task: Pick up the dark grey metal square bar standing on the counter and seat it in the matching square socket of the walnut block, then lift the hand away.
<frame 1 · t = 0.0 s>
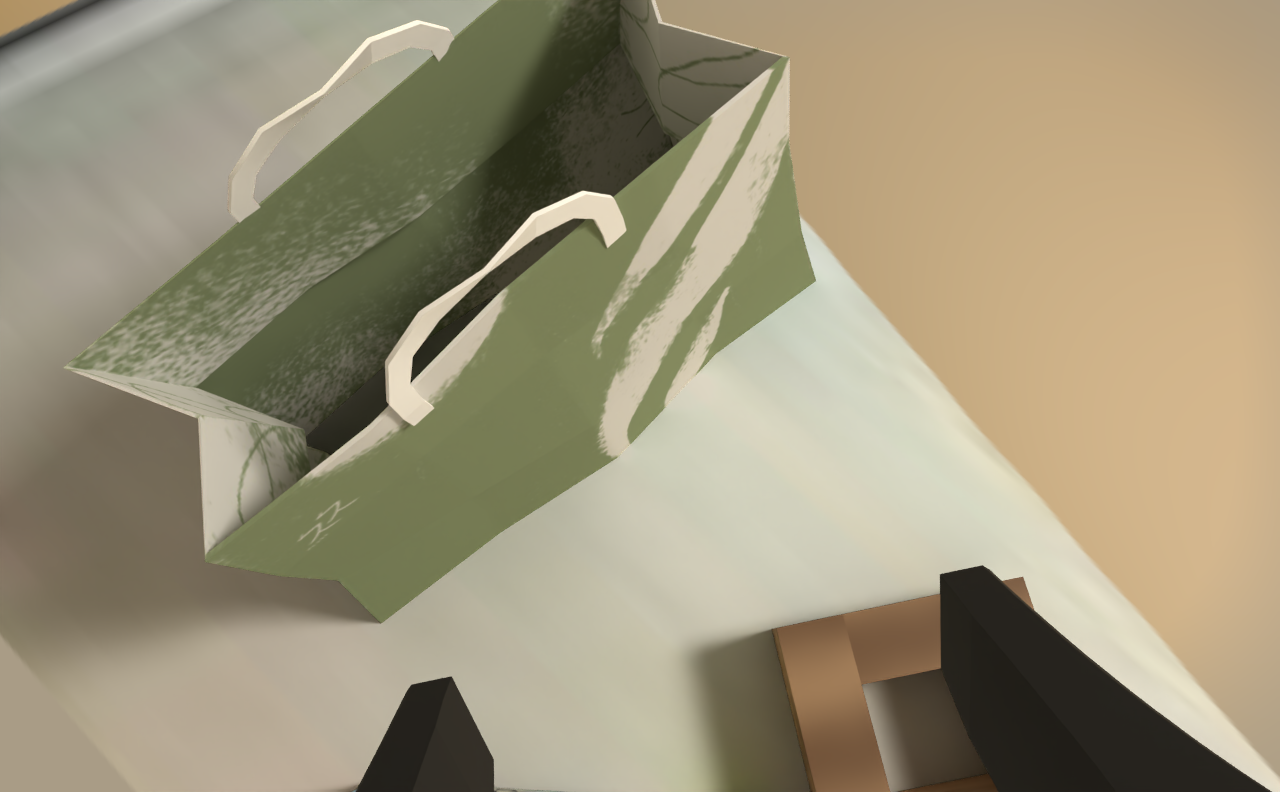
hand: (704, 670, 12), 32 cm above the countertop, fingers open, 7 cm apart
socket block: (917, 725, 40), on the countertop
grocery bag: (545, 373, 48), on the countertop
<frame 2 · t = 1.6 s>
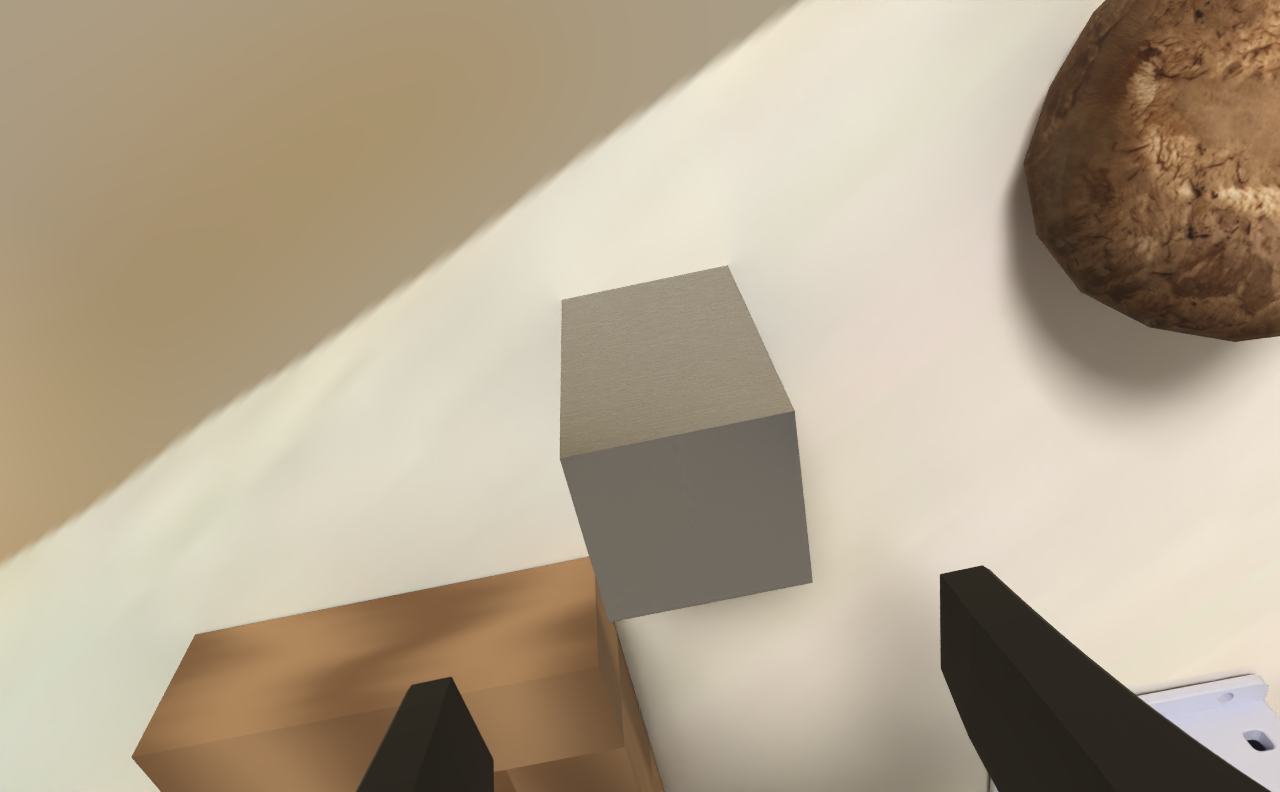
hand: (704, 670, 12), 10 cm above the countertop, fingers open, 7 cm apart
socket block: (456, 723, 26), on the countertop
square bit: (659, 355, 20), on the countertop
mushroom: (1153, 98, 18), on the countertop
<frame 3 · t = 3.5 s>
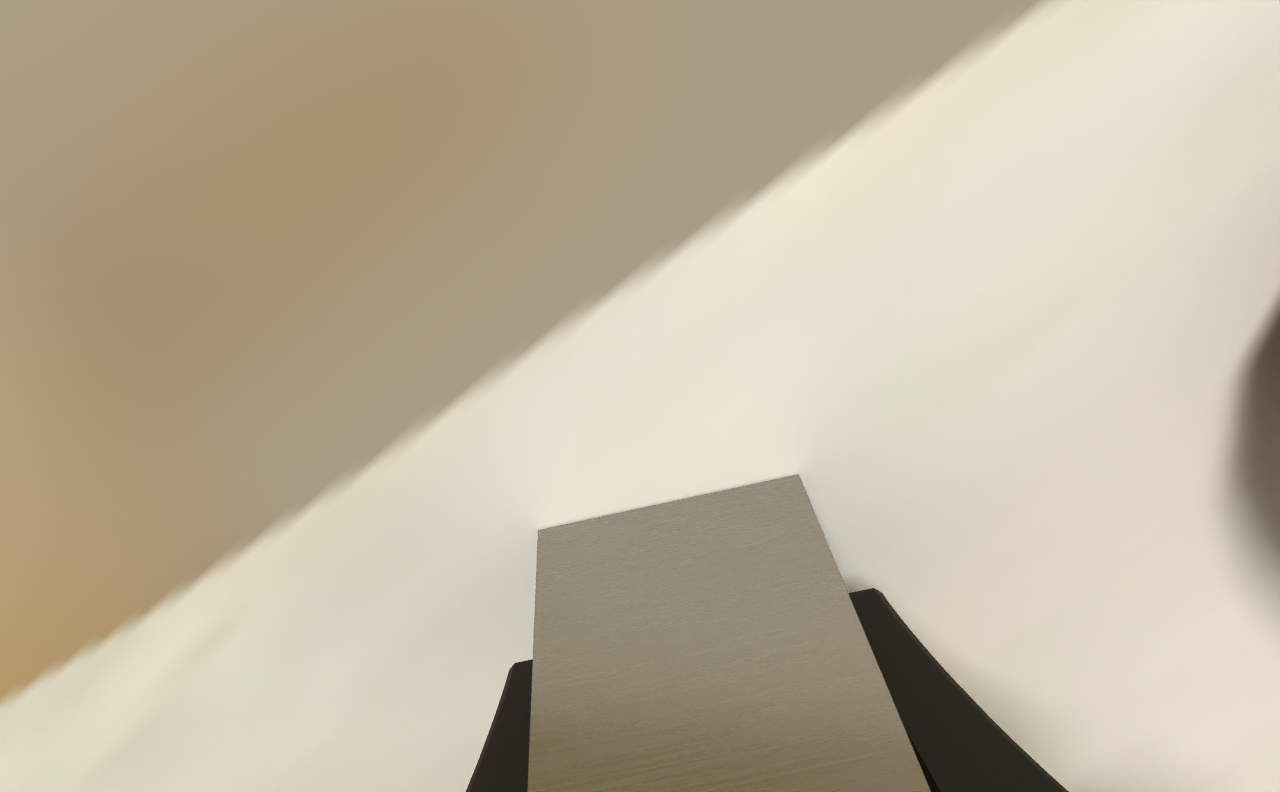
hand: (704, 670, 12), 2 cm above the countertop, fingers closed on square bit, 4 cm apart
square bit: (690, 595, 13), on the countertop, touching gripper
when the fingers open (5 cm above the countertop, at t = 8.3 s): square bit stays where it is, resting in socket block.
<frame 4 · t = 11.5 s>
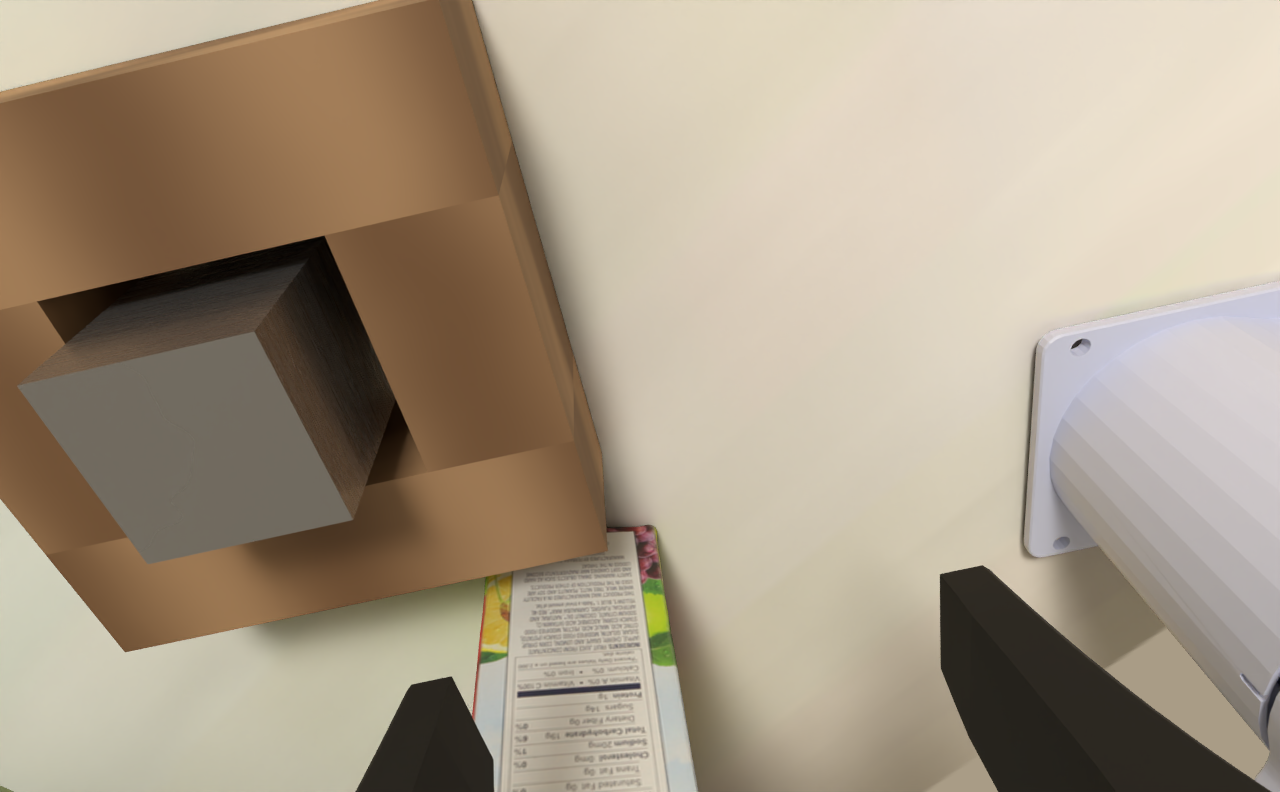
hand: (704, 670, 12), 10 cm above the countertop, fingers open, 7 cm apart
socket block: (304, 309, 19), on the countertop
snack box: (580, 741, 29), on the countertop
square bit: (303, 301, 19), resting in socket block
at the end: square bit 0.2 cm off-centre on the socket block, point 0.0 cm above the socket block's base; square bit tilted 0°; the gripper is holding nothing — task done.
